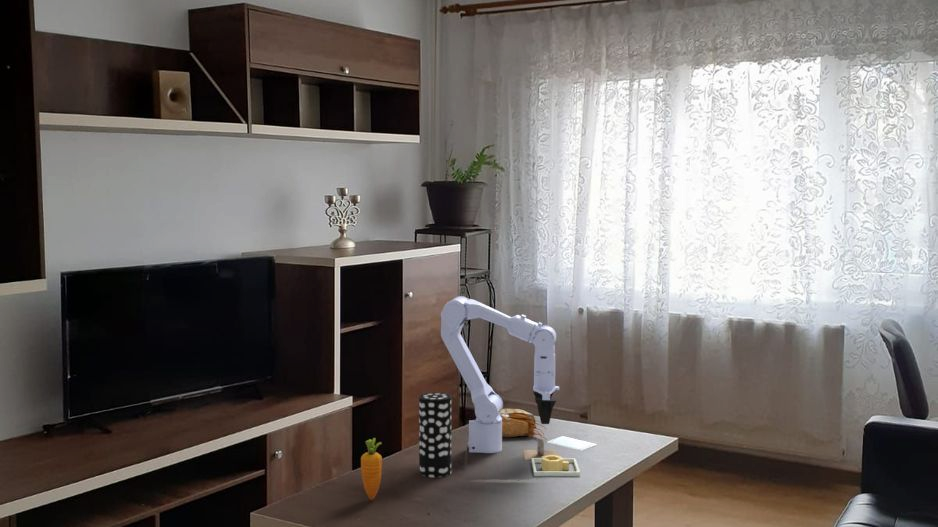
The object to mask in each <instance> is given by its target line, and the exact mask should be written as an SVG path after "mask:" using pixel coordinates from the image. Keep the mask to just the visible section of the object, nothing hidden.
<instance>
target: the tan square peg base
mask: <svg viewBox="0 0 938 527" xmlns="http://www.w3.org/2000/svg"><path fill="white" fill-rule="evenodd" d="M536 441H537V443H536V445H537V447H536V448H537V449H523V450H522V451H523V456H524V458H523V459H524V460H525V461H532V458H542V457H543V456H547V455H556V456H558V454H557V453H558V452H557V450H556V449H545V437H544V438H542V437H537V438H536Z"/></svg>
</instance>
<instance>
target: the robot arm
mask: <svg viewBox="0 0 938 527" xmlns="http://www.w3.org/2000/svg"><path fill="white" fill-rule="evenodd" d="M440 318H441V322H440V323H441V324H440V337H441V339H442V341H443V343H444V345H445V347H446V349H447V351H448V352H449V354H450V356H451V359H452V360H453V362H454V364H455V366H456V367H457V369H458V371H459V373H460V375H461V377H462V379H463V381H464V382H465V384H466V386H467V387H468V390H469V392H470V395H471V396H470V398H471V402H472V403H473V407H474V414H475V417H476V418H475V419H472V420H471V419H469V420H468V440H467V448H468V453H483V454H496V453H499V452H501V451H502V450H503V436H502V418H501V416H500V414H499V412H500V411H501V410H502V409H504V408H503V407H504V402H503V399H502V397H501V396H500V395H499V394H497V393H496V392H495V391H494V389H493V388H492V386H491V385H489V384H488V382H487V381H486V379H485V378H484V375H483V374H482V372H481V370H480V368H479V366H478V363H477V362H476V361H475V359H474V358H475V357H473V355H472V353H471V351H470V349H469V346H468V345H467V344H466V342H465V340H464V338H463V336H462V334H461V332H462V329H463V327H464V324H465V321H467V320H474V319H482V320H485V321H488V322H489V323H492V324H495V325H498V326H501V327H503V328H505V329H506V330H507V332H508V334H509V335H510V336H512V337H516V338H518V339H520V340H522V341H524V342H527V343H529V344H531V343H532V344H533V346H534V356H533V357H534V358H533V360H534V362H533V387H532V389H533V390H532V392H533V394H534V395H533V396H534V401H535V403H536V406H537V411H538V415H539V416H538V417H539V418H540V419H539V421H540V425H550V422H551V416H552V412H553V409H554V406H555V405H556V403H557V399H556V398H552V397H553V395H554V392H555V391H560V386H558V385H556V348H555V346H556V344H555V343H556V341H557V332H556V330H555V328H553V327H552V326H550V325H549V324H544V325H543V322H540V321H539V322H535V321H532V320H531V319H529V318H527V315H525V314H521V315H520V314H516V315H514V316H510V315H508V314H505V313H503V312H501V311H499V310H497V309H495V308H493V307H491V306H488V305H487V304H484V303H483V302H480V301H477V300H475V299H472V298H468V297H466V296H464V295H458V296H456V297H454V298H453V299H452V300H448V301H447V302H446V303H445V305H444V306H443V308H442V310H441V313H440Z"/></svg>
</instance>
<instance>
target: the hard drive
mask: <svg viewBox="0 0 938 527" xmlns="http://www.w3.org/2000/svg"><path fill="white" fill-rule="evenodd" d="M546 441H547V442H546V443H547V444H548V443H549V444H552V445H557V446H559V447H564V448H568V449H572V450H577V451H581V452H584V451H586V450H588V449H591V448H594V447H596V446H599V444H597V443H593V442H589V441H585V440H582V439H581V440H580V439H577V438H572V437H568V436H564V435H561V436H558V437H556V438H553V439H550V440H546Z"/></svg>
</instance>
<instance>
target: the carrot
mask: <svg viewBox="0 0 938 527" xmlns="http://www.w3.org/2000/svg"><path fill="white" fill-rule="evenodd" d="M364 443H365V445H366V447H367V452H365V453H363V454H362V455H361V457H360V468H361V480H362V484H363V489H364V491H365V493H366V495H367V497H368V499H369V500H370V501H373V500H375V497H376V496H377V494H378V492H379V489H380V486H381V485H380V484H381V480H382V475H383V474H382V471H383V470H382V469H383V457H382V455H381V454H380V453H378V452H376V451H377V448H379V446H382V441H379V442H377V443H376V437H373V438H372V439H368V440H366V441H365V442H364Z"/></svg>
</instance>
